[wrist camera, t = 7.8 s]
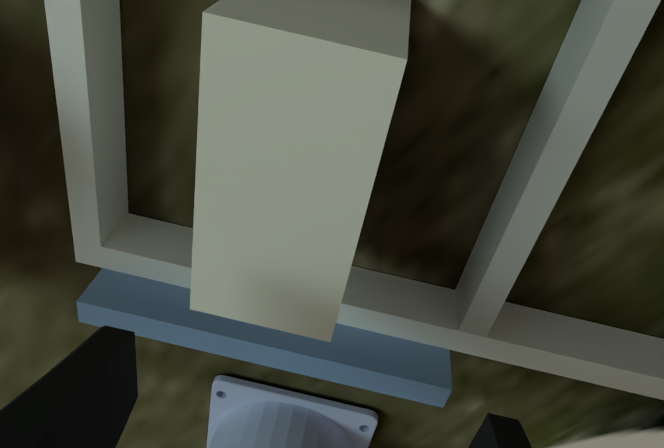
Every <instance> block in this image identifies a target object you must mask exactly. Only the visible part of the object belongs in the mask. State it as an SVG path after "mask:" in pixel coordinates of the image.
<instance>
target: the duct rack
mask: <svg viewBox="0 0 664 448" xmlns="http://www.w3.org/2000/svg"><path fill="white" fill-rule="evenodd" d="M660 1H661V0H581V2H580V5H579V7H578V9H577V11H576V14H575V16H574V18H573V21H572V23H571V25H570V28H569V30H568V32H567V34H566V37H565V39H564V41H563V44H562V46H561V48H560V50H559V53H558V55H557V57H556V60H555V62H554V64H553V66H552V69H551V71H550V73H549V76H548V78H547V80H546V82H545V85H544V87H543V89H542V92H541V94H540V96H539V99H538V101H537V103H536V105H535V108H534V110H533V112H532V115H531V117H530V119H529V121H528V124H527V126H526V128H525V131H524V133H523V135H522V137H521V140H520V142H519V144H518V147H517V149H516V151H515V153H514V156H513V158H512V160H511V163H510V165H509V167H508V170H507V172H506V174H505V176H504V179H503V181H502V183H501V186H500V188H499V190H498V192H497V195H496V197H495V199H494V202H493V204H492V206H491V208H490V211H489V213H488V215H487V218H486V220H485V222H484V224H483V227H482V229H481V231H480V234H479V236H478V238H477V241H476V243H475V245H474V247H473V250H472V252H471V254H470V257H469V259H468V261H467V263H466V266H465V268H464V270H463V273H462V275H461V277H460V279H459V282H458V284H457V286H456V289H455V290H453V289H449V288H445V287H441V286H436V285H432V284H428V283H424V282H419V281H415V280H411V279H407V278H402V277H398V276H394V275H390V274H385V273H381V272H377V271H373V270H368V269H364V268H360V267H356V266H351V269H350V273H349V276H348V280H347V284H346V287H345V291H344V295H343V298H342V302H341V306H340V309H339V313H338V317H337V320H336V324H335V328H334V331H333V335H332V339H331V342H327V341H322V340H318V339H314V338H310V337H306V336H301V335H297V334H293V333H289V332H284V331H280V330H276V329H272V328H267V327H263V326H259V325H255V324H250V323H246V322H242V321H238V320H233V319H229V318H225V317H221V316H217V315H212V314H208V313H204V312H200V311H195V310H191V309H190V291H191V268H192V245H193V228H190V227H185V226H181V225H177V224H173V223H168V222H164V221H160V220H156V219H151V218H147V217H143V216H138V215H134V214H130V213H129V212H128V188H127V165H126V142H125V118H124V95H123V72H122V48H121V25H120V2H119V0H44V2H45V10H46V19H47V27H48V35H49V43H50V52H51V60H52V68H53V77H54V85H55V93H56V101H57V110H58V118H59V126H60V134H61V143H62V151H63V159H64V168H65V176H66V184H67V192H68V201H69V209H70V217H71V226H72V234H73V242H74V250H75V259H76V262H79V263H84V264H88V265H92V266H96V267H101V268H102V269H101V270H100V272H99V273H98V274H97V276H96V277H95V278H94V279H93V281H92V282H91V283H90V285H89V286H88V287H87V288H86V290H85V291H84V292H83V294H82V295H81V296H80V297H79V299H78V300H77V301H76V302H77V310H78V318H79V322H82V323H86V324H90V325H95V326H99V327H103V326H105V325H106V326H111V327H115V328H119V329H124V330H128V331H132V332H135V335H137V336H141V337H145V338H150V339H154V340H158V341H162V342H167V343H171V344H175V345H179V346H184V347H188V348H192V349H196V350H200V351H205V352H209V353H213V354H217V355H222V356H226V357H230V358H234V359H239V360H243V361H247V362H251V363H256V364H260V365H264V366H268V367H272V368H277V369H281V370H285V371H289V372H294V373H298V374H302V375H306V376H311V377H315V378H319V379H323V380H328V381H332V382H336V383H340V384H345V385H349V386H353V387H357V388H361V389H366V390H370V391H374V392H378V393H383V394H387V395H391V396H395V397H400V398H404V399H408V400H412V401H417V402H421V403H425V404H429V405H434V406H438V407H442V408H443V407H444V405H445V403H446V401H447V399H448V397H449V395H450V393H451V391H452V380H451V364H450V350H453V351H457V352H462V353H466V354H470V355H474V356H479V357H483V358H487V359H491V360H496V361H500V362H504V363H508V364H513V365H517V366H521V367H525V368H530V369H534V370H538V371H542V372H547V373H551V374H555V375H559V376H563V377H568V378H572V379H576V380H580V381H585V382H589V383H593V384H597V385H602V386H606V387H610V388H614V389H619V390H623V391H627V392H631V393H636V394H640V395H644V396H648V397H653V398H657V399H661V400H664V339H662V338H658V337H653V336H649V335H645V334H641V333H636V332H632V331H628V330H624V329H619V328H615V327H611V326H607V325H602V324H598V323H594V322H590V321H585V320H581V319H577V318H573V317H568V316H564V315H560V314H556V313H551V312H547V311H543V310H538V309H534V308H530V307H526V306H521V305H517V304H513V303H509V302H505V300H506V298H507V296H508V294H509V292H510V290H511V288H512V286H513V284H514V283H515V281H516V279H517V277H518V275H519V273H520V271H521V269H522V267H523V265H524V263H525V261H526V259H527V258H528V256H529V254H530V252H531V250H532V248H533V246H534V244H535V242H536V240H537V238H538V236H539V234H540V232H541V231H542V229H543V227H544V225H545V223H546V221H547V219H548V217H549V215H550V213H551V211H552V209H553V207H554V206H555V204H556V202H557V200H558V198H559V196H560V194H561V192H562V190H563V188H564V186H565V184H566V182H567V180H568V179H569V177H570V175H571V173H572V171H573V169H574V167H575V165H576V163H577V161H578V159H579V157H580V155H581V154H582V152H583V150H584V148H585V146H586V144H587V142H588V140H589V138H590V136H591V134H592V132H593V130H594V129H595V127H596V125H597V123H598V121H599V119H600V117H601V115H602V113H603V111H604V109H605V107H606V105H607V103H608V102H609V100H610V98H611V96H612V94H613V92H614V90H615V88H616V86H617V84H618V82H619V80H620V78H621V77H622V75H623V73H624V71H625V69H626V67H627V65H628V63H629V61H630V59H631V57H632V55H633V53H634V51H635V50H636V48H637V46H638V44H639V42H640V40H641V38H642V36H643V34H644V32H645V30H646V28H647V26H648V25H649V23H650V21H651V19H652V17H653V15H654V13H655V11H656V9H657V7H658V5H659V3H660Z"/></svg>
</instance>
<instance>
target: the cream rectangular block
mask: <svg viewBox="0 0 664 448" xmlns="http://www.w3.org/2000/svg"><path fill="white" fill-rule="evenodd" d="M410 10H411V0H219V1H218V2H216V3H215V4H213V5H212V6H211V7H209V8H208V9H206V10H205V11H203V15H202V38H201V61H200V84H199V107H198V130H197V153H196V176H195V199H194V222H193V245H192V268H191V291H190V309H191V310H195V311H200V312H204V313H208V314H212V315H217V316H221V317H225V318H229V319H233V320H238V321H242V322H246V323H250V324H255V325H259V326H263V327H267V328H272V329H276V330H280V331H284V332H289V333H293V334H297V335H301V336H306V337H310V338H314V339H318V340H322V341H327V342H331V339H332V335H333V331H334V328H335V324H336V320H337V317H338V313H339V309H340V306H341V302H342V298H343V295H344V291H345V287H346V284H347V280H348V276H349V273H350V269H351V265H352V261H353V258H354V254H355V250H356V247H357V243H358V239H359V236H360V232H361V228H362V225H363V221H364V217H365V214H366V210H367V206H368V203H369V199H370V195H371V192H372V188H373V184H374V181H375V177H376V173H377V169H378V166H379V162H380V158H381V155H382V151H383V147H384V144H385V140H386V136H387V133H388V129H389V125H390V122H391V118H392V114H393V111H394V107H395V103H396V100H397V96H398V92H399V89H400V85H401V81H402V78H403V74H404V70H405V66H406V63H407V58H408V42H409V26H410Z"/></svg>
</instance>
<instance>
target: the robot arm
mask: <svg viewBox="0 0 664 448" xmlns="http://www.w3.org/2000/svg"><path fill="white" fill-rule="evenodd" d="M137 397H138V390H137V370H136V350H135V332H132V331H128V330H124V329H119V328H115V327H111V326H106V325H105V326H103V327H101V328H99V329H98V330H97V331H96V332H95V333H94V334H92V335H91V336H90V337H89V338H88V339H87V340H86V341H84V342H83V343H82V344H81V345H80V346H79V347H77V348H76V349H75V350H74V351H73V352H72V353H70V354H69V355H68V356H67V357H66V358H64V359H63V360H62V361H61V362H60V363H58V364H57V365H56V366H55V367H54V368H52V369H51V370H50V371H49V372H48V373H46V374H45V375H44V376H43V377H42V378H40V379H39V380H38V381H37V382H35V383H34V384H33V385H32V386H30V387H29V388H28V389H27V390H25V391H24V392H23V393H21V394H20V395H19V396H18V397H16V398H15V399H14V400H13V401H11V402H10V403H9V404H8V405H6V406H5V407H4V408H2V409H1V410H0V448H115V447H116V445H117V443H118V441H119V439H120V436H121V434H122V432H123V430H124V427H125V425H126V423H127V421H128V418H129V416H130V413H131V411H132V409H133V406H134V404H135V402H136V399H137ZM377 424H378V415H377V413H375V412H374V411H372V410H369V409H365V408H361V407H356V406H352V405H348V404H344V403H339V402H335V401H331V400H327V399H323V398H318V397H314V396H310V395H306V394H301V393H297V392H293V391H289V390H284V389H280V388H276V387H272V386H267V385H263V384H259V383H255V382H251V381H246V380H242V379H238V378H234V377H229V376H225V375H220V376H217V377H215V379H214V382H213V384H212V392H211V403H210V414H209V426H208V437H207V448H368V447H369V444H370V442H371V439H372V437H373V434H374V432H375V429H376V427H377ZM468 448H532V446H531V444H530V442H529V440H528V438H527V436H526V434H525V432H524V429H523V427H522V425H521V424H520V422H519V420H516V419H512V418H508V417H503V416H499V415H494V414H490V413H488V414H487V416H486V417H485V419H484V421H483V423H482V425H481V426H480V428H479V430H478V432H477V433H476V435H475V437H474V439H473V440H472V442H471V444H470V446H469V447H468Z"/></svg>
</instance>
